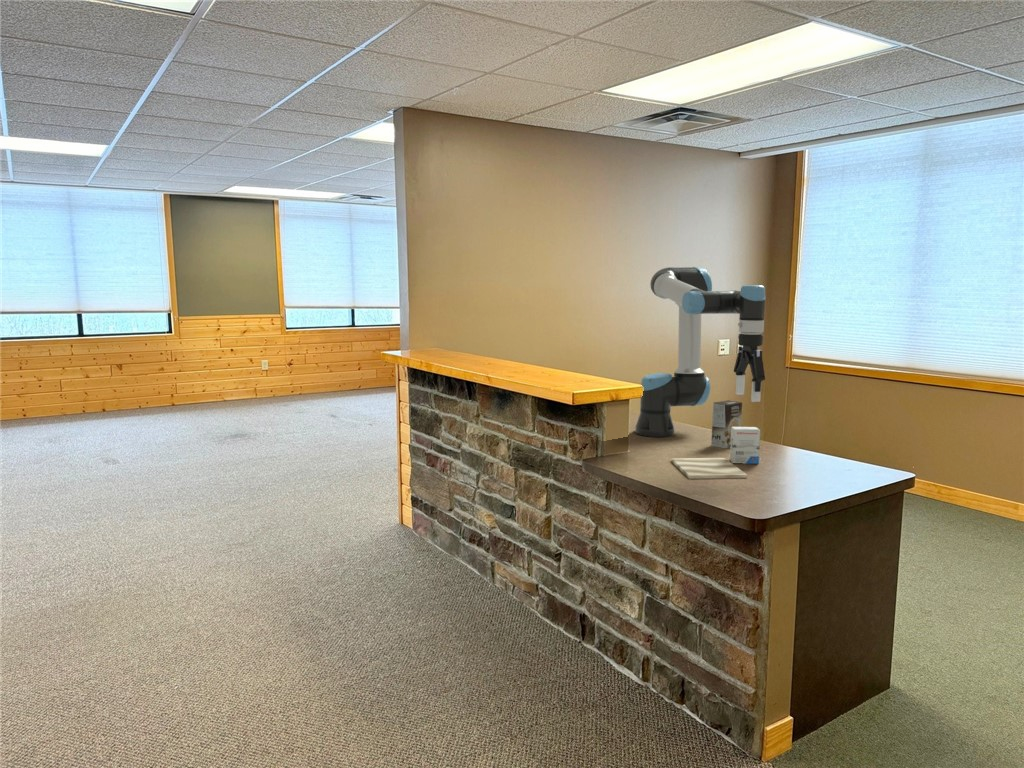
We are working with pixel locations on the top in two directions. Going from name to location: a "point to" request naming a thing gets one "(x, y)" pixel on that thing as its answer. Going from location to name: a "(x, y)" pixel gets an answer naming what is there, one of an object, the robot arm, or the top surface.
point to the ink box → (745, 445)
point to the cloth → (708, 468)
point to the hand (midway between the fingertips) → (747, 398)
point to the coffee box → (725, 422)
